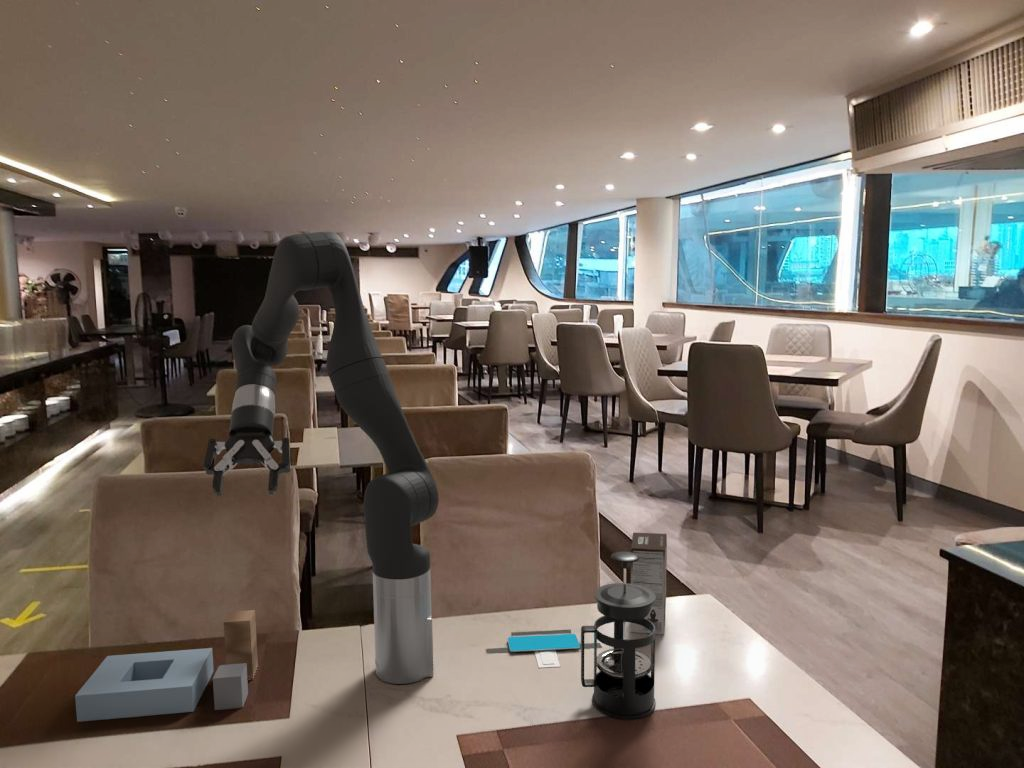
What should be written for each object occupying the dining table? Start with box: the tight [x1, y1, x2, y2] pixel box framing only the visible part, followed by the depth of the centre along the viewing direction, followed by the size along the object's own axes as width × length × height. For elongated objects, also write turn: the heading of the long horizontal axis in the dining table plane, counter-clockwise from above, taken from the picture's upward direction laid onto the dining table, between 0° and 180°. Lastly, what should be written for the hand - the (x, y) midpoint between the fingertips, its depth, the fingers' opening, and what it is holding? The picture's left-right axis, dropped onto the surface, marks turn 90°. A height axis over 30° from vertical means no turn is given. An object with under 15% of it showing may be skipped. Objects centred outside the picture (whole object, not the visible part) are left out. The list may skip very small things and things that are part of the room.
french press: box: [580, 551, 657, 721], centre depth 109 cm, size 12×9×23 cm
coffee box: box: [629, 532, 668, 636], centre depth 136 cm, size 9×6×16 cm
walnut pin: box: [223, 609, 259, 680], centre depth 119 cm, size 4×4×10 cm
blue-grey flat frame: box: [74, 647, 215, 723], centre depth 113 cm, size 16×12×4 cm
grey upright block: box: [212, 663, 249, 711], centre depth 111 cm, size 4×4×5 cm
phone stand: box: [486, 629, 602, 669], centre depth 126 cm, size 20×12×2 cm, turn 95°
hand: (245, 493), depth 126 cm, fingers open, 8 cm apart
